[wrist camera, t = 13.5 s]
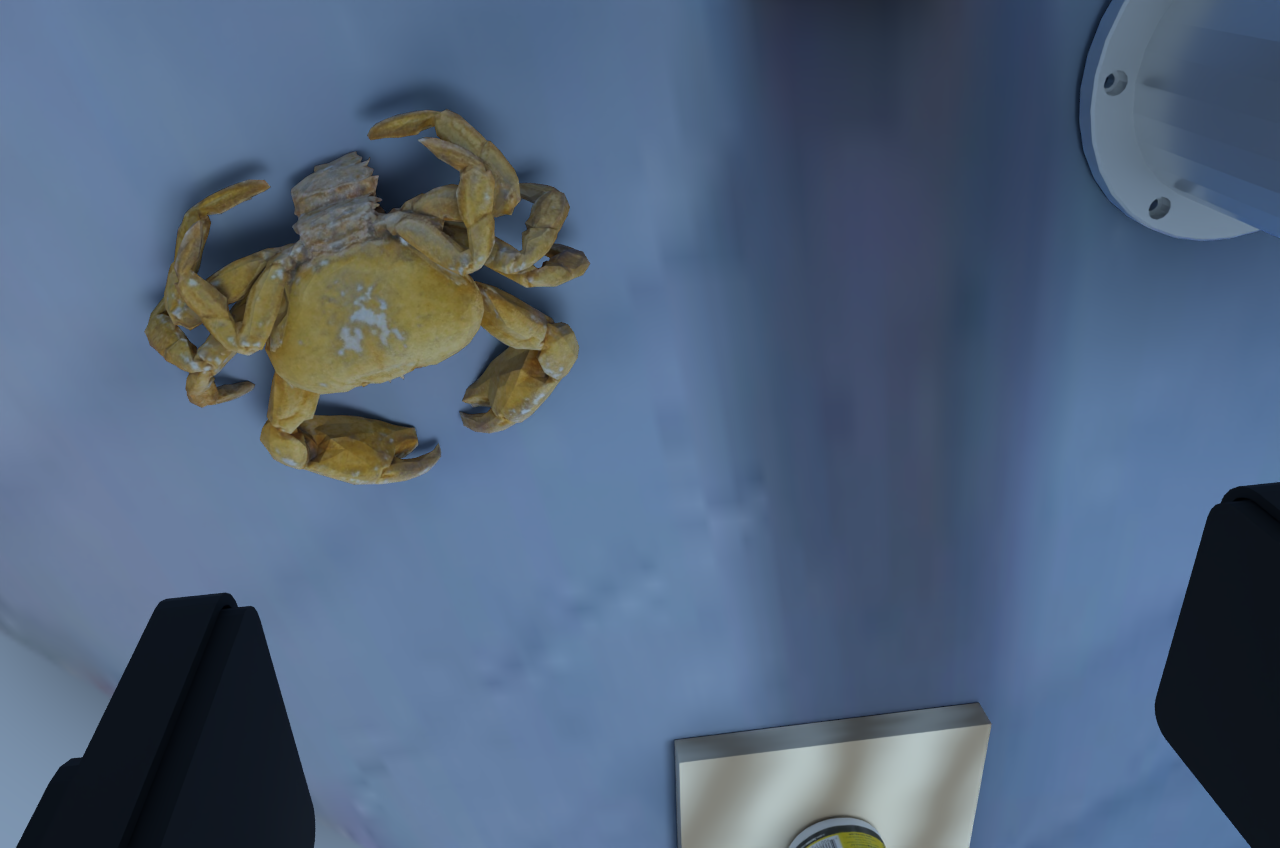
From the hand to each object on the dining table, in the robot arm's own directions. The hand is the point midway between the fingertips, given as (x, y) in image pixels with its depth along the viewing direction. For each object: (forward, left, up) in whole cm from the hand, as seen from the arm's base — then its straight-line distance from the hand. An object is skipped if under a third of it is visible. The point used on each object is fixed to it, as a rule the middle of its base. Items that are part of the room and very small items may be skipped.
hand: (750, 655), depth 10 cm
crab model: (+7, +7, -29) cm, 30 cm away
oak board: (-11, +39, -28) cm, 49 cm away
